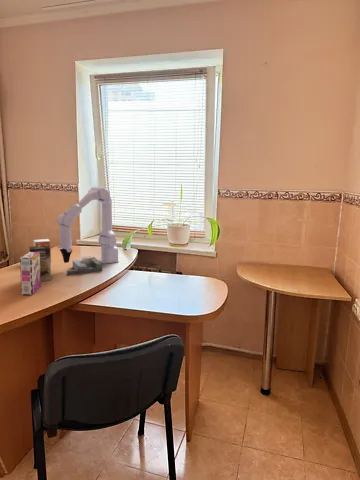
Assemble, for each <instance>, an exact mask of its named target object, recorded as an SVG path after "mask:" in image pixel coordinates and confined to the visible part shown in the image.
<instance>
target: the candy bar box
mask: <svg viewBox="0 0 360 480" xmlns="http://www.w3.org/2000/svg"><path fill="white" fill-rule="evenodd" d="M19 270H20V292H21V294H20V295H21V296H33V295H34V294H35V293H37V291H38V290H39V289H40V288H41V287H42V285H41V284H42V283H41V282H42V281H41V279H40V252H29V251H28V252H27V253H25V254H24V255H22V256H20V257H19Z"/></svg>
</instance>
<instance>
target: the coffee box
mask: <svg viewBox="0 0 360 480" xmlns="http://www.w3.org/2000/svg"><path fill="white" fill-rule="evenodd" d="M29 252H40V279H41V282H47V281H52V267H51V264H52V261H51V262H50V247H49V246H34V247H33V246H29V247H28V253H29Z"/></svg>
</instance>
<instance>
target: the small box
mask: <svg viewBox="0 0 360 480" xmlns="http://www.w3.org/2000/svg"><path fill="white" fill-rule="evenodd" d="M32 244H33V246H32V247H34V246H49V247H50V262H51V263H52V253H51V252H52V249H51V248H52V246H51V240H50V239H49V238H44V239H32Z"/></svg>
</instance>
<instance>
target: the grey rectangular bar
mask: <svg viewBox="0 0 360 480" xmlns="http://www.w3.org/2000/svg"><path fill="white" fill-rule="evenodd" d="M72 268H73V269H74V270H77V269H79V270H83V269H87V266H86V265H85V264H84V263H83V262H82V261H81V259H74V260H72Z"/></svg>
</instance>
